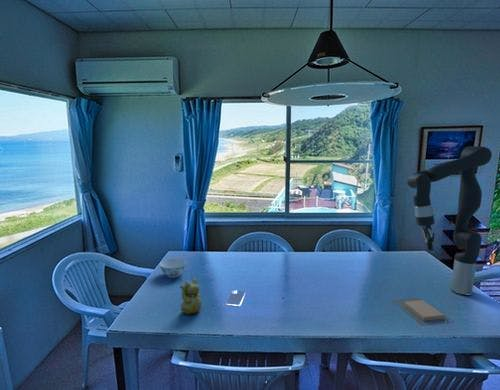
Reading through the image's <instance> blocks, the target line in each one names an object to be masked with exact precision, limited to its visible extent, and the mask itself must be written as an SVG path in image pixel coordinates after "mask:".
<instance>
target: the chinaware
mask: <svg viewBox="0 0 500 390" xmlns="http://www.w3.org/2000/svg"><path fill="white" fill-rule="evenodd" d="M186 266H187V260H186V259H185V258H181V257H180V258H179V257H172V258H171V257H170V258H166V259H164V260H162V261H160V262H159V267H160V270H161V271H162V273H164V275H166V276H167V277H168V278H171V279H172V278H173V279H174V278H178V277H179V276H180V274H182V273H183V272H184V270H185V268H186Z"/></svg>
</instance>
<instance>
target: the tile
mask: <svg viewBox="0 0 500 390" xmlns="http://www.w3.org/2000/svg"><path fill="white" fill-rule="evenodd" d="M423 300H424V299H422V300H419V301H408V302H404V306H405V307H406V308H408V309H409V310H410V311H411V312H413V313H414V314H415V315H416V316H418V317H419V318H420V319H421V320H423V321H428V320H438V319H444V315H445V314H444V315H443V313H442V312H441V311H440V312H439V310H438V309H437V308H435V307H434V306H432V305H431V304H430V303H428V302H427V301H426V300H424V301H423ZM426 302H427V303H426ZM429 304H430V305H429ZM433 307H434V308H433ZM436 309H437V310H436Z"/></svg>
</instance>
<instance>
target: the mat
mask: <svg viewBox="0 0 500 390" xmlns="http://www.w3.org/2000/svg"><path fill="white" fill-rule="evenodd" d="M419 300H423V301H425V300H424V299H422V298H421V297H419V296H417V297H406V298H404V297H403V298H395V299H394V298H393V299H390V302H392V303H393V304H394V305H395V306H397V307H398V308H399V309H400V310H402V311H403V312H404V313H405V314H406V315H408V316H409V317H410V318H412V320H414V321H415V322H416V323H418V325H420V326H431V325H432V326H433V325H441V324H442V323H443V324H446V323H445V321H447V322H449V320H450V321H452V322H453V321H454V320H453V319H451V318H450V317H448V316H447V315H446V314H443V313H442V314H443V315H444V319H438V320H428V321H423V320H421V319H420V318H419V317H418V316H416V315H415V314H414V313H413V312H411V311H410V310H409V309H408V308H406V307H405V306H404V302H408V301H419ZM425 302H426V303H428V302H427V301H425ZM428 304H429V305H431V304H430V303H428ZM432 307H433V308H435V307H434V306H432ZM435 309H436V310H438V309H437V308H435ZM438 311H439V310H438ZM439 312H441V311H439ZM453 323H454V322H453Z"/></svg>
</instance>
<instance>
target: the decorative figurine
mask: <svg viewBox="0 0 500 390" xmlns="http://www.w3.org/2000/svg"><path fill="white" fill-rule="evenodd" d="M179 289H181V290H182V292H181V298H182V302H181V303H180V310H181V312H183V313H185V314H186V315H188V316H190V315H193V314H196V313H198V311H200V309H201V307H202V299H201V298H202V297H201V294H200V293H199V290H200V286H199V284H198V279H197V278H195V277H194V278H193V279H192V281H191V282H190V281H189V280H185V282H184V284H181V285H180V287H179Z"/></svg>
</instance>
